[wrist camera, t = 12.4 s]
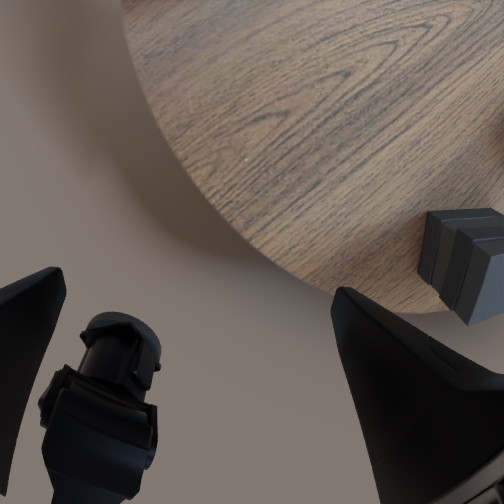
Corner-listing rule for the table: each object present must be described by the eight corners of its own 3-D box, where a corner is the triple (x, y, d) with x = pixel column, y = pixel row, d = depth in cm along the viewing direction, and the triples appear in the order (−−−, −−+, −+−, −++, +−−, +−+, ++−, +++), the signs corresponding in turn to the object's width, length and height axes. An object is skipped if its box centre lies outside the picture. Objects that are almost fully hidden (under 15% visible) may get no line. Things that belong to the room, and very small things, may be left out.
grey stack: (414, 275, 24) (463, 330, 17) (426, 209, 21) (489, 253, 14) (479, 263, 24) (526, 304, 17) (492, 206, 22) (548, 241, 14)
